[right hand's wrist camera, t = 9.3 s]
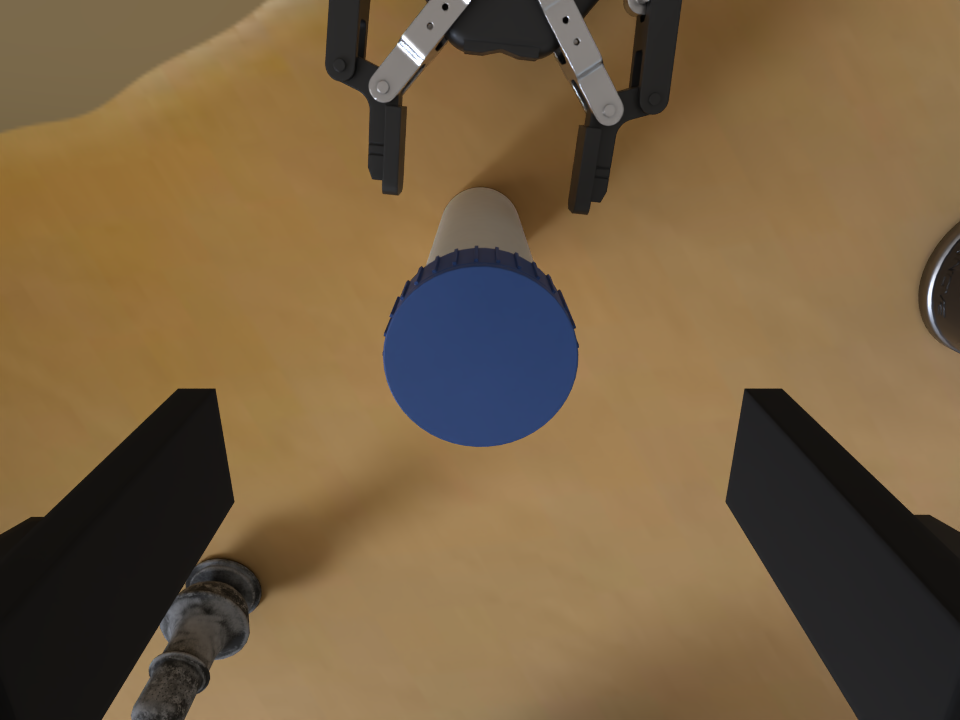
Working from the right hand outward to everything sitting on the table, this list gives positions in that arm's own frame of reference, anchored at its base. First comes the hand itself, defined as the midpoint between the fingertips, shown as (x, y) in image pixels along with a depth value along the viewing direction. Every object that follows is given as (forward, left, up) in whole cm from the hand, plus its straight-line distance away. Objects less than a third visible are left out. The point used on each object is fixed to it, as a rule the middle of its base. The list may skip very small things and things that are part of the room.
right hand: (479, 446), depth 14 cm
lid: (0, 0, -5) cm, 5 cm away
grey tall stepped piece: (-2, +31, -25) cm, 40 cm away
